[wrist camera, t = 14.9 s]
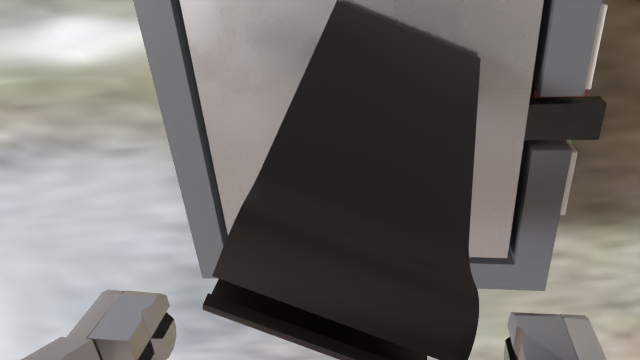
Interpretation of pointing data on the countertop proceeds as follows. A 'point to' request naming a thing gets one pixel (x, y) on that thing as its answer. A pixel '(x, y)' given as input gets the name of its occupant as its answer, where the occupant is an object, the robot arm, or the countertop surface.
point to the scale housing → (536, 163)
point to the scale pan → (408, 11)
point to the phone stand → (364, 202)
